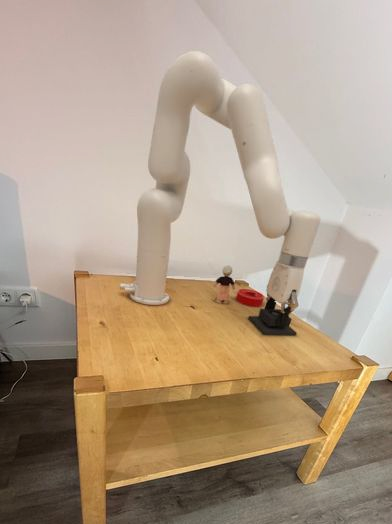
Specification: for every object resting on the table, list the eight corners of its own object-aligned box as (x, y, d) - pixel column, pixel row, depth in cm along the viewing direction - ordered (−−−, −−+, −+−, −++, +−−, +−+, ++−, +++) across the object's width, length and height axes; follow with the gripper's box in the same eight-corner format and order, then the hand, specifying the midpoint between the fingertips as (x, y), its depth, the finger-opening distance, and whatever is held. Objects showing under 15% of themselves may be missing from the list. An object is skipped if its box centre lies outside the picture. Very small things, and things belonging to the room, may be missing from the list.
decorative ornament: (232, 295, 112) (234, 287, 111) (256, 297, 115) (258, 289, 113) (240, 305, 104) (243, 296, 103) (265, 307, 107) (268, 299, 105)
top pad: (268, 326, 87) (271, 318, 86) (258, 315, 93) (260, 308, 91) (289, 326, 89) (291, 318, 88) (277, 316, 95) (280, 309, 94)
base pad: (263, 335, 86) (267, 321, 83) (247, 318, 95) (251, 305, 92) (295, 335, 89) (300, 322, 87) (277, 319, 98) (281, 307, 96)
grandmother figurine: (228, 299, 107) (235, 264, 101) (232, 304, 104) (241, 268, 98) (208, 299, 104) (215, 263, 98) (212, 303, 101) (220, 266, 95)
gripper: (265, 251, 88) (251, 307, 96) (298, 268, 74) (277, 332, 82) (287, 253, 90) (271, 308, 99) (322, 270, 76) (300, 332, 85)
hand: (274, 318), depth 90 cm, fingers closed on top pad, 7 cm apart
